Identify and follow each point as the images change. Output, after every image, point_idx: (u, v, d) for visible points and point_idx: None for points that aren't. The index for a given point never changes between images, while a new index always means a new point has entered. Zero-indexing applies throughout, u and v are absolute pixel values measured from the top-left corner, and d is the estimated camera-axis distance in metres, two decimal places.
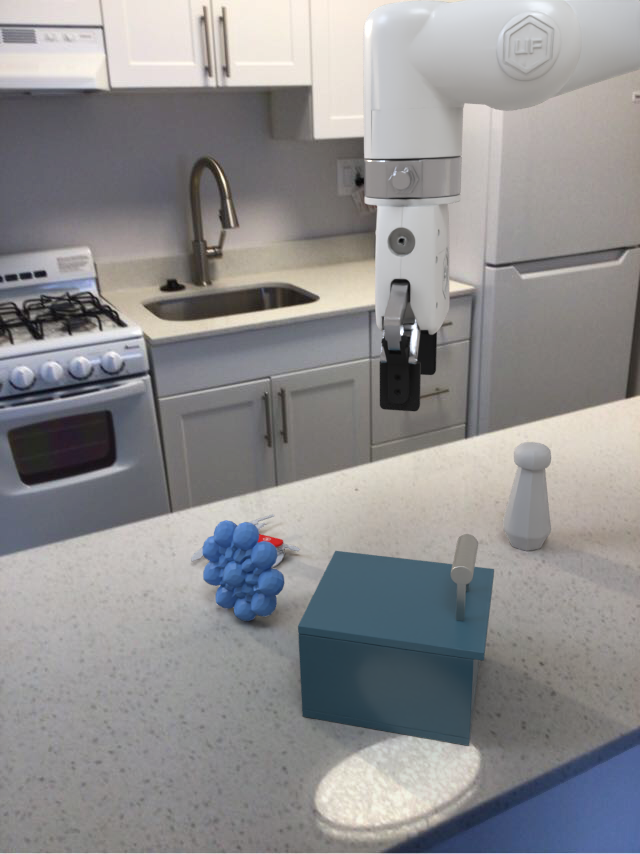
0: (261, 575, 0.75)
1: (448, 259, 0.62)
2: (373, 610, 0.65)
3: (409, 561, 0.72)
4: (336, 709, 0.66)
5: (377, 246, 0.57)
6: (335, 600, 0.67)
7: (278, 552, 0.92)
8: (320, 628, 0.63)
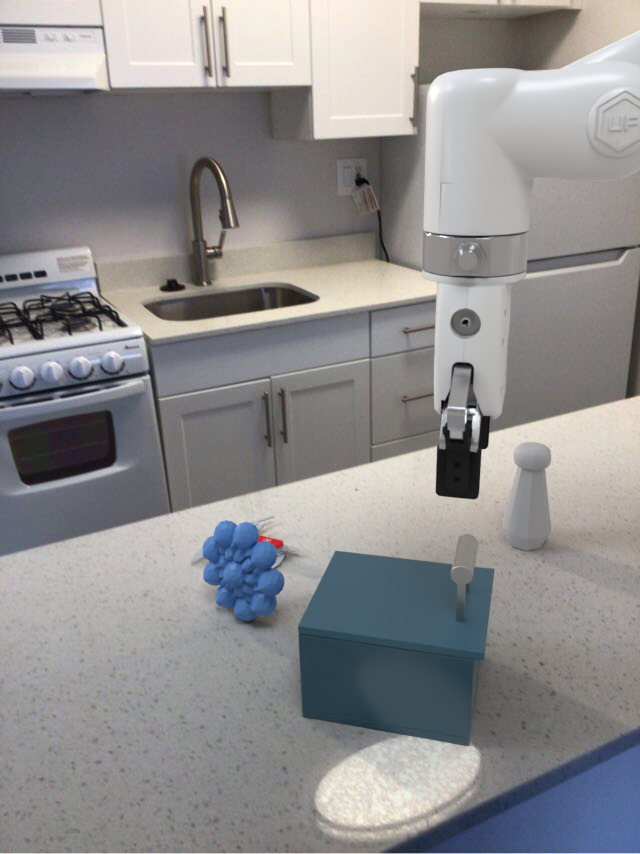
0: (261, 575, 0.75)
1: None
2: (373, 610, 0.65)
3: (409, 561, 0.72)
4: (336, 709, 0.66)
5: (438, 326, 0.53)
6: (335, 600, 0.67)
7: (278, 553, 0.92)
8: (320, 628, 0.63)
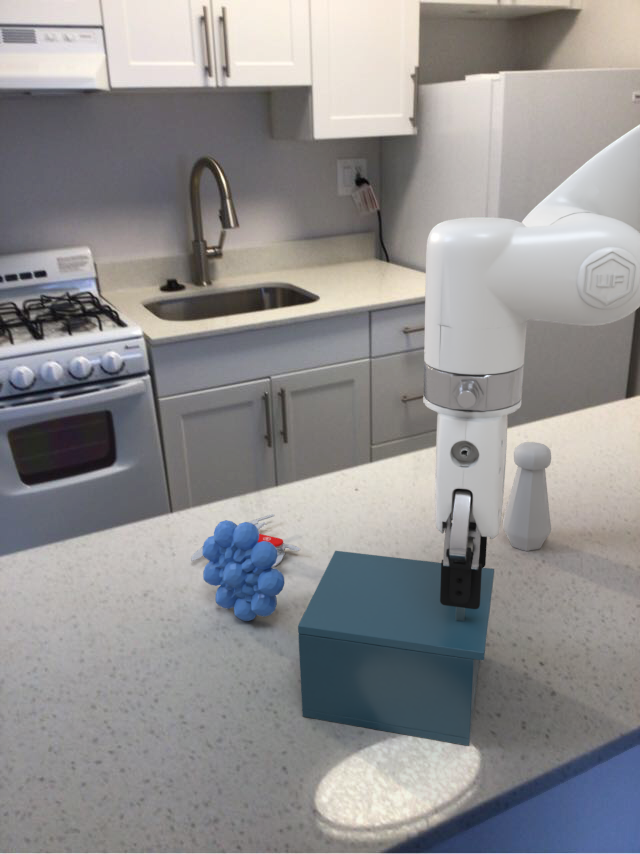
0: (261, 575, 0.75)
1: None
2: (373, 610, 0.65)
3: (409, 561, 0.72)
4: (336, 709, 0.66)
5: (439, 455, 0.57)
6: (335, 600, 0.67)
7: (278, 552, 0.92)
8: (320, 628, 0.63)
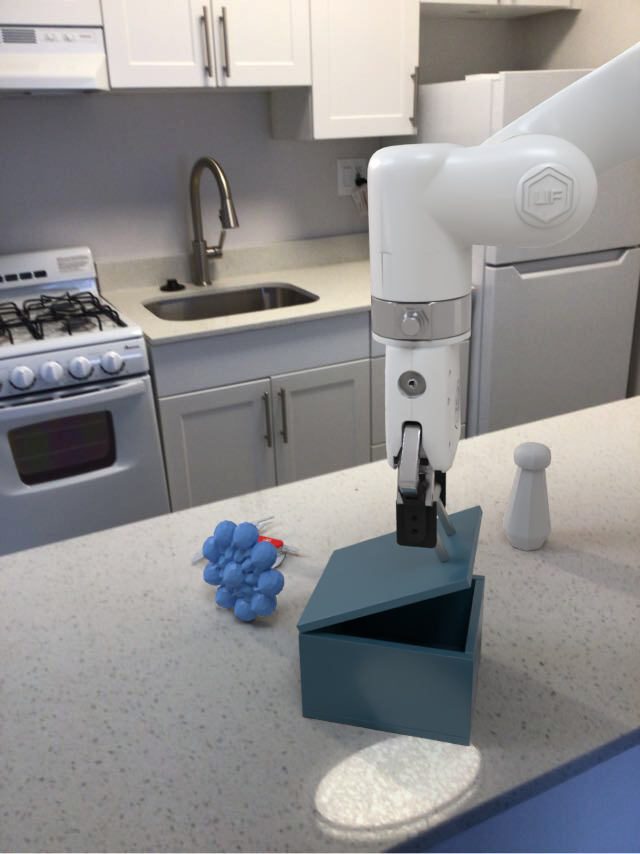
0: (261, 575, 0.75)
1: (459, 387, 0.61)
2: (364, 585, 0.64)
3: None
4: (336, 709, 0.66)
5: (387, 387, 0.56)
6: (331, 591, 0.67)
7: (278, 553, 0.92)
8: (315, 619, 0.63)
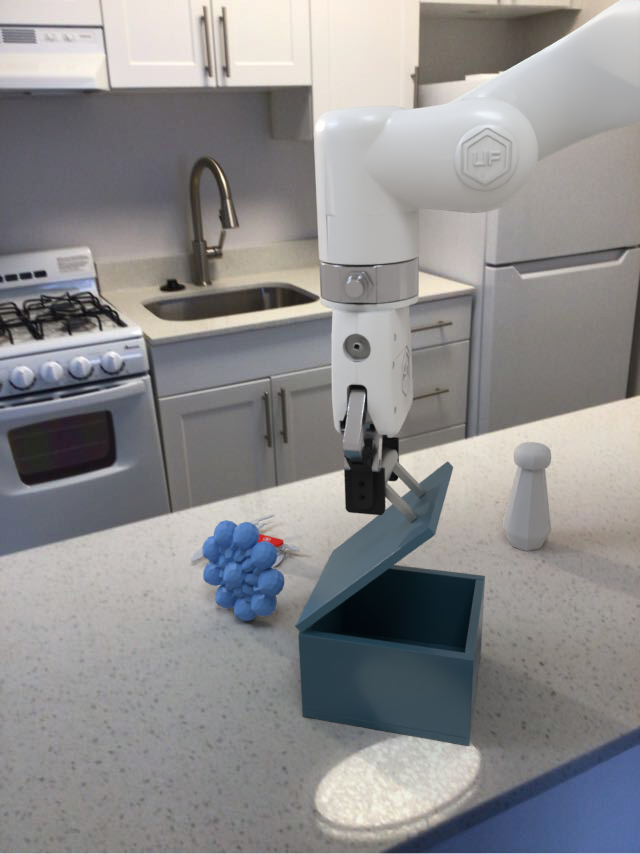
0: (261, 575, 0.75)
1: (409, 355, 0.61)
2: (351, 569, 0.64)
3: None
4: (336, 709, 0.66)
5: (333, 351, 0.56)
6: (325, 585, 0.66)
7: (278, 552, 0.92)
8: (310, 614, 0.63)
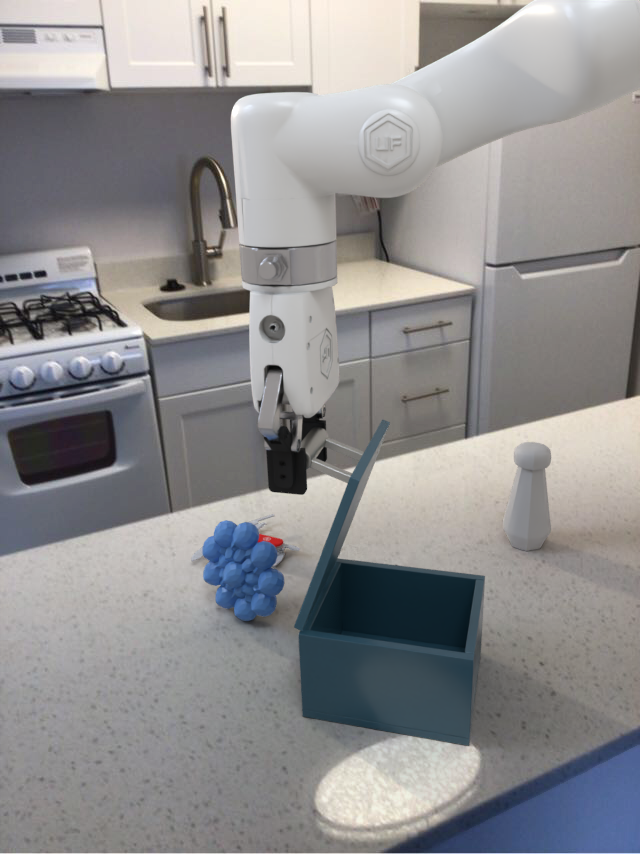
0: (261, 575, 0.75)
1: (331, 338, 0.62)
2: None
3: None
4: (336, 709, 0.66)
5: (250, 332, 0.57)
6: None
7: (278, 552, 0.92)
8: (300, 609, 0.63)
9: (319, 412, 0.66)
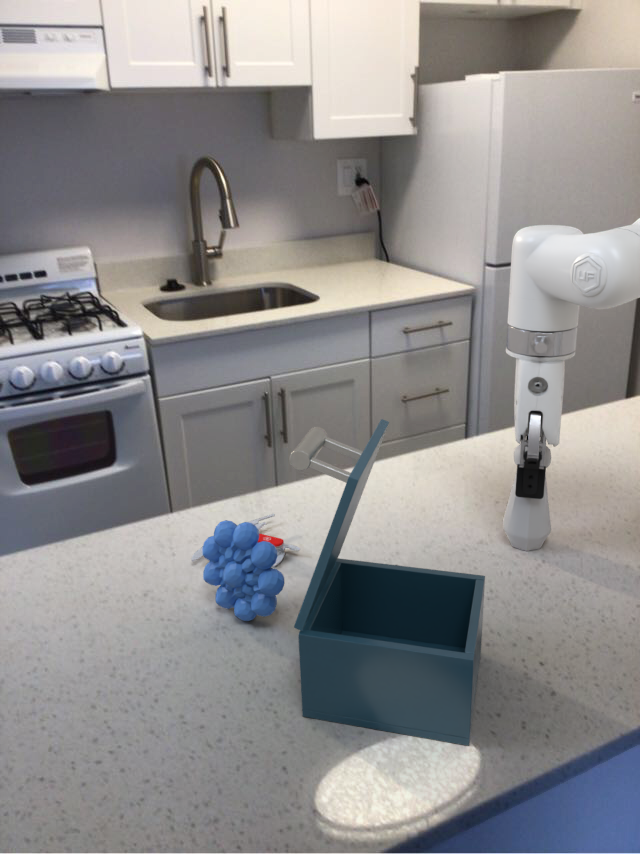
0: (261, 575, 0.75)
1: None
2: None
3: None
4: (336, 709, 0.66)
5: (519, 387, 0.82)
6: None
7: (278, 552, 0.92)
8: (300, 609, 0.63)
9: None
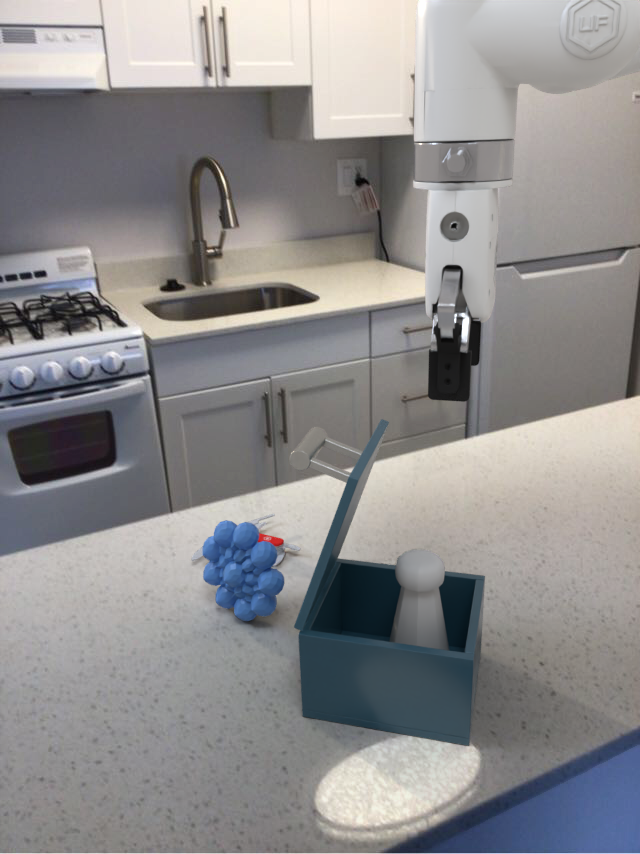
0: (261, 575, 0.75)
1: (497, 246, 0.61)
2: None
3: None
4: (336, 709, 0.66)
5: (429, 231, 0.56)
6: None
7: (278, 551, 0.92)
8: (300, 609, 0.63)
9: None
